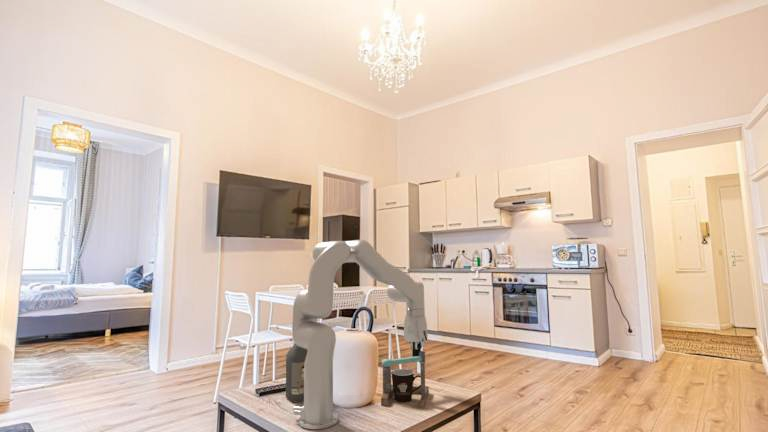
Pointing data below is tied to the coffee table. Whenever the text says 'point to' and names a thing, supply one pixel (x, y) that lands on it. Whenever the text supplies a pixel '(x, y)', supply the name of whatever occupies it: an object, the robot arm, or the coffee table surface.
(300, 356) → the liquor
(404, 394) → the coffee mug
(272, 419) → the coffee table surface
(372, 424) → the coffee table surface
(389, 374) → the dock
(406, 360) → the clip
